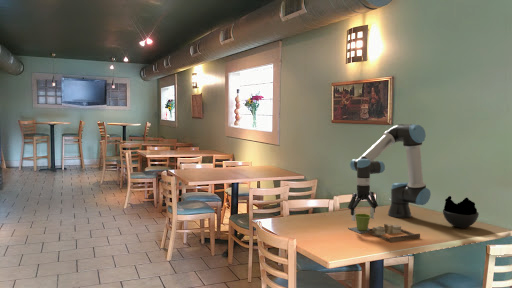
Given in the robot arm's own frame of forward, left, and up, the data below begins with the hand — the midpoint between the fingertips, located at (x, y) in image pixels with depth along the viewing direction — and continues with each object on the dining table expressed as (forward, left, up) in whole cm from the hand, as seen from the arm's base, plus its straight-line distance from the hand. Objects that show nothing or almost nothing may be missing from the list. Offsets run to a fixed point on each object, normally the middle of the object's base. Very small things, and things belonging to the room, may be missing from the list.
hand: (362, 219), depth 245 cm
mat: (0, 0, -7) cm, 7 cm away
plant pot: (0, 0, -6) cm, 6 cm away
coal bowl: (+16, +62, -7) cm, 64 cm away
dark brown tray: (+16, +10, -7) cm, 20 cm away
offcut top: (+10, +9, -4) cm, 14 cm away
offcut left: (+10, +4, -7) cm, 13 cm away
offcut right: (+10, +15, -7) cm, 20 cm away
